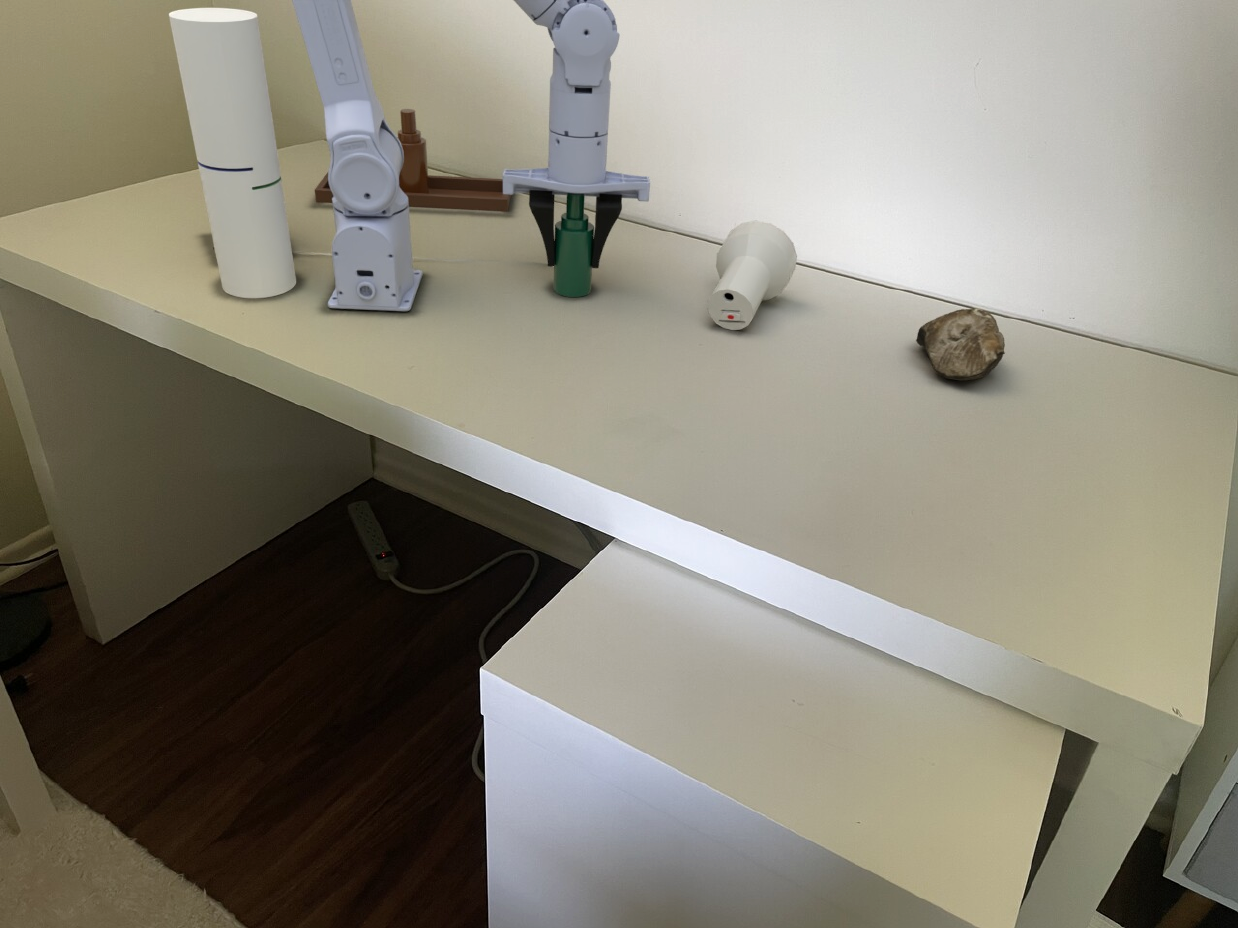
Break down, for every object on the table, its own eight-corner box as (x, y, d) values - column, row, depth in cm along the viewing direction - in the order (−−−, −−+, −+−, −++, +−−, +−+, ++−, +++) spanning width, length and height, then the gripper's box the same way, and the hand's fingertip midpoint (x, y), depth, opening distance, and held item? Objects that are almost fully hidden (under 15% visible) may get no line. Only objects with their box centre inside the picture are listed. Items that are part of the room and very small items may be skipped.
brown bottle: (426, 202, 115) (422, 115, 109) (394, 200, 115) (388, 113, 109) (431, 191, 119) (426, 107, 113) (399, 190, 118) (393, 105, 112)
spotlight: (800, 286, 98) (795, 218, 93) (772, 347, 91) (765, 277, 85) (729, 283, 101) (720, 217, 96) (696, 342, 94) (685, 274, 89)
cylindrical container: (218, 274, 94) (166, 8, 80) (290, 266, 97) (251, 8, 83) (226, 302, 89) (171, 22, 75) (301, 293, 92) (262, 22, 78)
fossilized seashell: (1018, 376, 82) (1005, 346, 90) (996, 308, 80) (985, 284, 89) (933, 403, 85) (929, 371, 93) (910, 338, 83) (908, 311, 92)
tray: (507, 215, 115) (507, 199, 113) (316, 205, 113) (314, 190, 112) (511, 194, 121) (511, 179, 120) (330, 185, 120) (329, 170, 118)
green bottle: (591, 298, 96) (596, 199, 90) (552, 296, 95) (555, 197, 89) (590, 282, 99) (595, 186, 93) (553, 281, 99) (556, 184, 93)
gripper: (650, 123, 92) (640, 252, 99) (505, 115, 91) (506, 246, 98) (655, 143, 86) (644, 278, 93) (500, 134, 85) (501, 272, 92)
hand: (573, 263), depth 95 cm, fingers closed on green bottle, 4 cm apart
